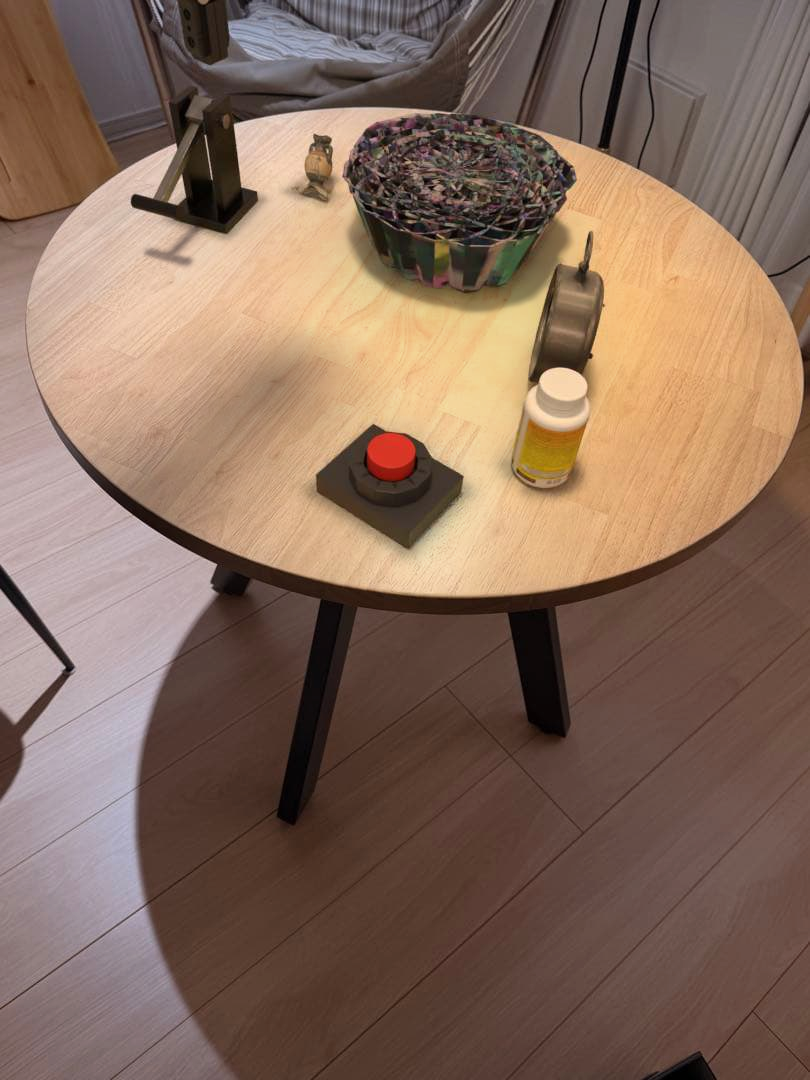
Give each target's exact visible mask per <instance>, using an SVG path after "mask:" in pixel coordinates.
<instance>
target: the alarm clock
mask: <svg viewBox="0 0 810 1080" xmlns="http://www.w3.org/2000/svg"><path fill="white" fill-rule="evenodd" d="M586 237H587V238H586V241H585V242H586V243H585V247H584V255H583V260H582V261H580V262H579V263H578V266H577V267H576V266H571V265H566V264H563V263H559V264H557V265H556V266H555V268H554V271H553V274H552V276H551V279H550V282H549V284H548V288H547V293H546V295H545V299H544V303H543V307H542V310H541V313H540V314H541V315H540V318H539V322H538V326H537V330H536V333H535V338H534V343H533V346H532V352H531V356H530V362H529V366H528V367H529V368H528V376H527V377H528V378H527V379H528V381H529V382H530V383H534V384H539V380H540V377H541V375H542V374H543V373H544V372H546V371H547V370H549V369H553V368H568V369H571V370H574V371H576V372H578V373H579V374H580V375H582V376H583V373H584V372H585V370H586V367H587V364H588V361H589V360H592V359H593V357H594V354H593V353H592V350H593V346H594V344H595V339H596V337H597V336H596V335H597V333H598V330H599V329H598V328H599V325H600V321H601V316H602V312H603V308H605V306H606V304H604V297H605V283H604V279H603V277H602V276H601V274H600V273H598V271H594V270H590V261H591V258H592V253H593V247H594V231H593V230H589V231H588V234H587V236H586Z"/></svg>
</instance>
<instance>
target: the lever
mask: <svg viewBox="0 0 810 1080" xmlns="http://www.w3.org/2000/svg"><path fill="white" fill-rule="evenodd" d="M212 101H214V99H213V98H209V97H205V96H200V95H199V96H197V95H195V96H194V98H193V100H192V102H191V104H190V106H189V108H188V110H187V112H186V114H185V117H186V119H187V121H188V124H189V127H188V129H187V131H186V133H185V135H184V137H183V139H182V141H181V143H180V145H179V147H178V149H177V148H176V152H175V153H174V155H173V158H172V160H171V162H170V163H169V166H168V168H167V170H166V171H165V174H164V175H163V178H162V180H161V181H160V184H159V185H158V188H157V189H156V192H155V194H154V196H153V197H150V196H145V195H142V194H138V193H133V194H132V196H131V197H130V206H131V207H132V208H133V209H136V210H139V211H144V212H147V213H150V214H154V215H158V216H161V217H164V218H169V219H173V220H174V219H176V220H175V221H178V220H181V219H182V218H183V214H184V210H183V207H182V206H179V205H178V204H175V203H172V202H169V201H170V199H171V196H172V195H173V193H174V191H175V189H176V187H177V185H178V183H179V180H180V179H181V177H182V172H183V170H184V168H185V166H186V164H187V162H188V160H189V158H190V156H191V154H192V152H193V150H194V148H195V146H196V144H197V142H198V140H199V138H200V136H201V134H203V135H205V136H206V133H205V126H204V120H203V113H202V110H203V109H204V108H205V107H207V106H208V105H209V104H210V103H211V102H212Z"/></svg>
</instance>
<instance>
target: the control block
mask: <svg viewBox="0 0 810 1080" xmlns="http://www.w3.org/2000/svg"><path fill="white" fill-rule="evenodd" d="M385 433H396V434H400V435H403V436H405V437H407V438H408V439H409V440H411V442H412V443H413V444H414V446H415V451H416V452H415V464H414V469H413V471H412V473H411V474H410V475H409V476H408V477H406V478H405V479H403V480H400V481H394V482H389V481H383V480H380V479H378V478H376V477H375V476H374V475H372V473H371V472H370V471H369V469H368V466H367V449H368V445H369V443H370V442H371V440H372V439H374V438H375V437H376V436H378V435H381V434H385ZM464 477H465V476H464V475H463V474H461V473H460V472H458V471H456V470H454V469H453V468H451V467H449V466H448V465H446V464H444V463H443V462H441V461H439V460H437V459H436V458H434V457H432V455H431V453H430V452H429V450H428V448H427V446H426V445H425V444H424V443H423V442H422V441H420V440H418V439H417V438H415V437H413V436H412V435H410V434H408V433H406V432H398V431H397V432H396V431H389V430H385V429H384V428H382V427H380V426H378V425H376V424H375V423H372V424H370V426H369V427H368V428H366V429H365V430H364V431H363V432H362V433H361V434H360V435H358V437H356V438H355V439H354V440H353V441H352V442H350V444H348V446H346V447H345V448H344V449H343V450H342V451H341V452H340V453H339V454H337V455H336V456H335V457H333V459H332V460H331V461H330V462H328V463H327V464H326V465H325V466H324V467H322V469H320V470H319V472H317V473H316V474H315V483H316V485H315V486H316V492H317V493H319V494H321V495H322V496H324V497H326V499H329V500H330V501H331V502H334V503H335V504H336V505H338V506H340V507H341V508H343V509H345V510H346V511H348V512H349V513H351V514H352V515H354V516H355V517H357V518H359V519H361V520H362V521H364V522H365V523H366V524H368V525H369V526H371V527H373V528H374V529H376V530H378V531H379V532H381V533H382V534H384V535H385V536H387V537H389V538H390V539H392V540H393V541H395V542H397V543H398V544H400V545H401V546H403V547H405V549H409V548H410V547H411V546H412V545H413V543H414V542H415V541H417V539H419V537H420V536H421V535H422V534H423V533H424V532H425V531H426V530H427V529H428V528H429V527H430V526H431V525H432V523H434V522H435V520H436V519H438V517H440V515H442V513H443V512H444V511H445V510H446V508H448V507H449V506H450V504H451V503H453V502H454V500H455V499H456V498H457V497H458V496H459V495H460V494H461V493H462V489H463V482H464Z"/></svg>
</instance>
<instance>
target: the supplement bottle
mask: <svg viewBox="0 0 810 1080" xmlns="http://www.w3.org/2000/svg"><path fill="white" fill-rule="evenodd" d="M588 389H589V387H588V382H587V379H586V378H585V377H584V376H583V374H582V375H580V374H579V373H578V372H576V371H574V370H571V369H568V368H553V369H549V370H547V371H546V372H544V373H543V374H542V375H541V377H540V380H539V383H537V384H536V385H534V386H533V387H531V388H530V389H529V390H528V392H527V393H526V395H525V398H524V401H523V405H522V410H521V415H520V419H519V422H518V426H517V427H518V428H517V431H516V436H515V439H514V446H513V450H512V454H511V467H512V469H513V471H514V473H515V475H516V476H517V477H518V478H519V479H520V480H521V481H523V482H524V483H525V484H527V485H530V486H532V487H535V488H539V489H541V488H542V489H547V488H548V489H549V488H555V487H558V486H560V485H562V484H563V483H564V482H566V481H567V480H568V479H569V477H570V475H571V474H572V471H573V468H574V466H575V462H576V459H577V455H578V453H579V450H580V446H581V444H582V440H583V437H584V434H585V431H586V428H587V424H588V422H589V419H590V415H591V403H590V401H589V399H588V397H587V393H588Z"/></svg>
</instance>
